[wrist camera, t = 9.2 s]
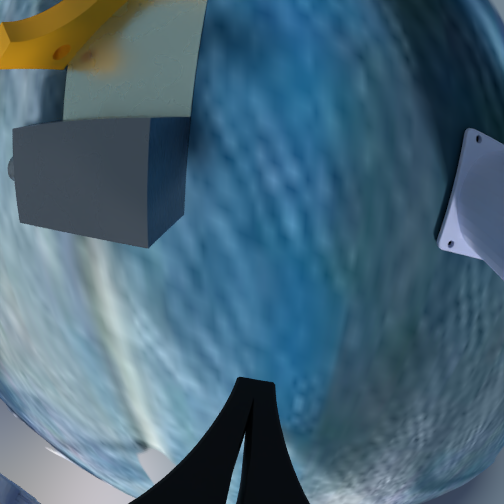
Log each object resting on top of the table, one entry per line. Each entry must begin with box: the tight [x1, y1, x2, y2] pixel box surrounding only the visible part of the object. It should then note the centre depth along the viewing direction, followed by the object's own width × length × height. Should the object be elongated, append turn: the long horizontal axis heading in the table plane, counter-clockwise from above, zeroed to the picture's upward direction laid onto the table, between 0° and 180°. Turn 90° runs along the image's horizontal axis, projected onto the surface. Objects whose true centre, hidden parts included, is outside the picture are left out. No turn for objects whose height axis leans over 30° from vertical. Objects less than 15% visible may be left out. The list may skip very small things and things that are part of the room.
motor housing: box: [8, 0, 208, 248], centre depth 11 cm, size 13×22×5 cm, turn 173°
